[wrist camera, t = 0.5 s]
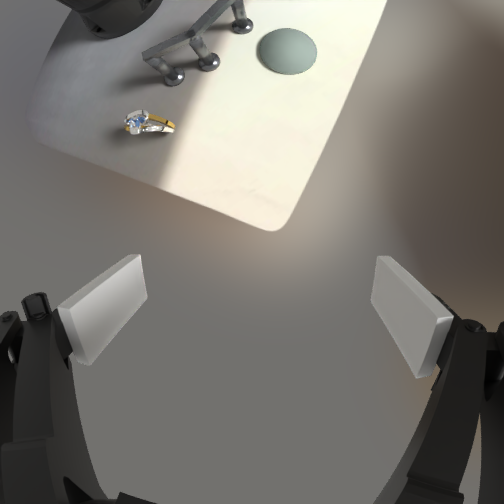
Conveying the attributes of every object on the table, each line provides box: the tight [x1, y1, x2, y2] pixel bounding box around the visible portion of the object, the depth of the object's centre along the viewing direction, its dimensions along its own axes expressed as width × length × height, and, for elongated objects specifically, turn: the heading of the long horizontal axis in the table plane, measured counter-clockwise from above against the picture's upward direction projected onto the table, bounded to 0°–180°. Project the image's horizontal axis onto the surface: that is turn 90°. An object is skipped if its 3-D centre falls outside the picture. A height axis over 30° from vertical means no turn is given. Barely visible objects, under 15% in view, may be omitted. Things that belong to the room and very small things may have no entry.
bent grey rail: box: [142, 0, 253, 86], centre depth 26 cm, size 8×15×10 cm, turn 109°
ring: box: [124, 110, 176, 134], centre depth 31 cm, size 7×3×8 cm, turn 72°
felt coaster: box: [260, 28, 317, 74], centre depth 30 cm, size 8×8×1 cm
